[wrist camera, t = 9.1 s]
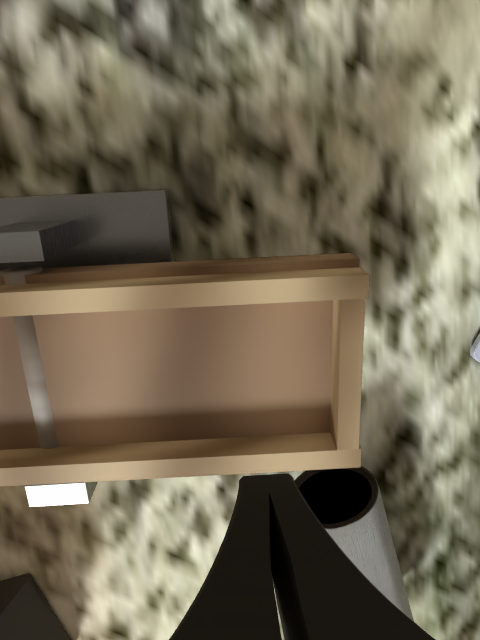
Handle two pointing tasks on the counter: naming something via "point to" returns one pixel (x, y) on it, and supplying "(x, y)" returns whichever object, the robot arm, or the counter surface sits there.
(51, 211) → the stand
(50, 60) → the counter surface
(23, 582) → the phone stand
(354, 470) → the gray cylinder
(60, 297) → the wooden tray
